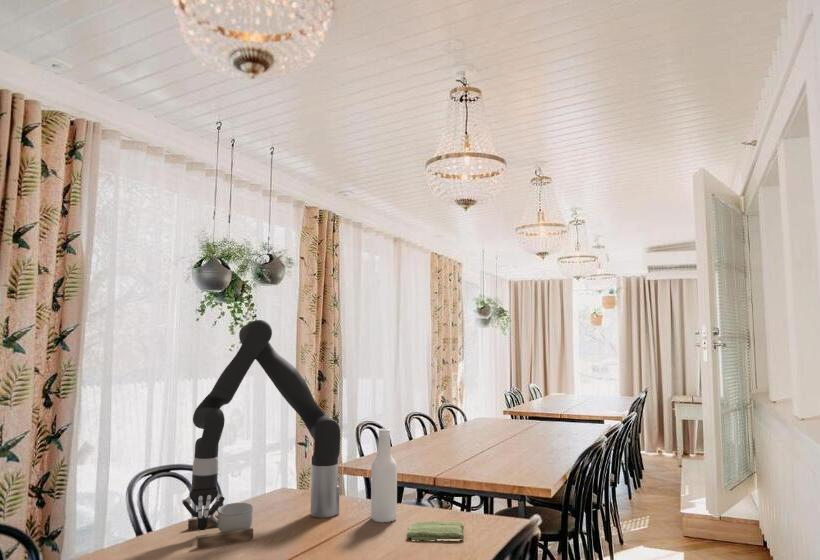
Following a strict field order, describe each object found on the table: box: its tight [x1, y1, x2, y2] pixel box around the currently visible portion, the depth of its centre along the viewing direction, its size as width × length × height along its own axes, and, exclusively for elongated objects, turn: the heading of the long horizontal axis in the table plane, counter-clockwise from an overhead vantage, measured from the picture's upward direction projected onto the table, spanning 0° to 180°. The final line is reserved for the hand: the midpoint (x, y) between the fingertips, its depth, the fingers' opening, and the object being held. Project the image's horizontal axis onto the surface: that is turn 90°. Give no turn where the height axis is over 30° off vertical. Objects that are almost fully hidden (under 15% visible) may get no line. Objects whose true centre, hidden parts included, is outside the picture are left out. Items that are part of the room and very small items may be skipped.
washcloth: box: [406, 520, 465, 541], centre depth 179 cm, size 13×18×3 cm
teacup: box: [210, 501, 254, 533], centre depth 181 cm, size 14×11×8 cm
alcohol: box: [370, 427, 398, 524], centre depth 196 cm, size 9×9×30 cm
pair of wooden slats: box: [187, 514, 254, 549], centre depth 180 cm, size 16×20×3 cm
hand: (201, 529), depth 177 cm, fingers closed
